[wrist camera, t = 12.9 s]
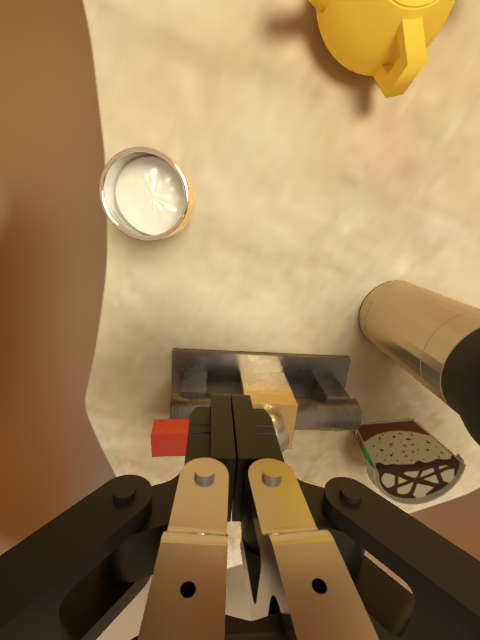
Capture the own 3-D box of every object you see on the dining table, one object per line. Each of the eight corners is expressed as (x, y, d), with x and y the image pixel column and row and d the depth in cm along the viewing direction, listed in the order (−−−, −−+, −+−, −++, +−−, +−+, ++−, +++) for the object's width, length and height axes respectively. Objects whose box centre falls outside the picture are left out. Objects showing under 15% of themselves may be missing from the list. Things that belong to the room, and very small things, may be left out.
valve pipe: (347, 356, 47) (377, 388, 39) (334, 423, 51) (359, 466, 42) (173, 348, 45) (165, 380, 36) (172, 419, 48) (163, 464, 40)
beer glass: (177, 243, 41) (159, 261, 27) (126, 207, 39) (78, 205, 25) (210, 194, 39) (210, 185, 25) (159, 154, 38) (128, 120, 24)
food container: (341, 458, 53) (370, 512, 43) (343, 424, 51) (374, 473, 42) (417, 451, 54) (461, 503, 44) (422, 417, 52) (469, 464, 42)
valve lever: (285, 413, 39) (290, 427, 36) (283, 440, 40) (288, 455, 37) (154, 416, 38) (150, 431, 35) (156, 443, 39) (152, 459, 36)
